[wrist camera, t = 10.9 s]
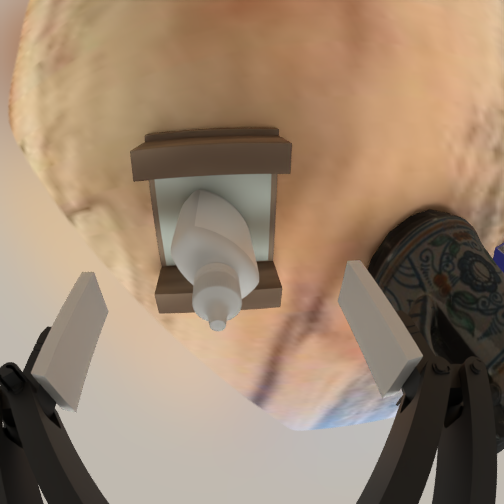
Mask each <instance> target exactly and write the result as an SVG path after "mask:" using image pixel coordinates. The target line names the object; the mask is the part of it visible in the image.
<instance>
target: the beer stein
mask: <svg viewBox="0 0 504 504" xmlns="http://www.w3.org/2000/svg"><path fill="white" fill-rule="evenodd" d="M368 272H369V273H370V274H371V276H372V277H373V279H374V280H375V282H376V283H377V284H378V286H379V287H380V289H381V290H382V292H383V293H384V295H385V296H386V298H387V299H388V301H389V302H390V304H391V305H392V307H393V308H394V310H395V311H400V310H402V311H404V312H405V313H406V314H407V315H409V316H410V317H411V319H412V320H413V322H414V323H415V326H417V328H418V329H419V332H420V333H421V334H422V335H423V337H424V339H425V340H426V342H427V343H428V345H429V347H430V348H431V350H432V351H433V353H434V354H435V356H440V357H443V358H445V359H446V360H447V361H448V362H449V363H450V364H463V363H464V362H465V361H466V359H467V358H469V357H471V356H475V357H478V358H479V359H481V360H482V361H483V362H484V364H485V366H486V369H487V374H488V379H489V384H490V390H491V396H492V403H493V410H494V419H495V429H496V444H497V453H499V452H500V451H502V450H503V449H504V273H503V272H502V270H501V269H500V268H499V267H498V265H497V264H496V263H495V261H494V260H493V259H492V257H491V256H490V255H489V253H488V252H487V251H486V249H485V248H484V246H483V245H482V243H481V242H480V239H479V237H478V235H477V233H476V231H475V229H474V228H473V227H472V226H471V225H470V224H469V223H468V222H467V221H466V220H465V219H463V218H461V217H458V216H453V215H450V214H449V213H444V212H439V211H434V210H427V211H424V212H421V213H418V214H415V215H413V216H410V217H409V218H407V219H406V220H405V221H404V222H402V223H401V224H400V225H399V226H397V227H396V228H395V229H393V230H392V231H391V232H389V234H388V235H387V237H386V238H385V240H384V241H383V243H382V244H381V246H380V247H379V249H378V250H377V252H376V253H375V254H374V256H373V257H372V259H371V262H370V265H369V268H368ZM402 392H403V394H404V393H405V391H404V389H403V387H402Z"/></svg>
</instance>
